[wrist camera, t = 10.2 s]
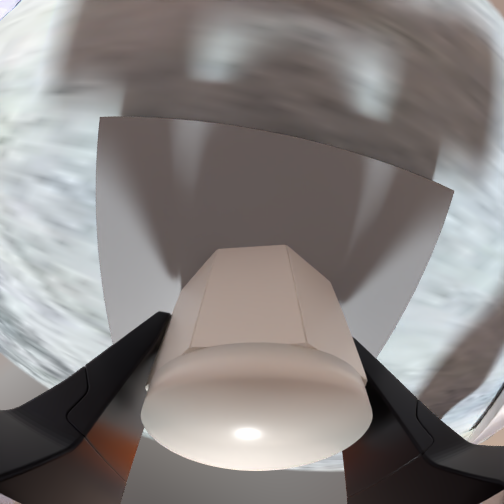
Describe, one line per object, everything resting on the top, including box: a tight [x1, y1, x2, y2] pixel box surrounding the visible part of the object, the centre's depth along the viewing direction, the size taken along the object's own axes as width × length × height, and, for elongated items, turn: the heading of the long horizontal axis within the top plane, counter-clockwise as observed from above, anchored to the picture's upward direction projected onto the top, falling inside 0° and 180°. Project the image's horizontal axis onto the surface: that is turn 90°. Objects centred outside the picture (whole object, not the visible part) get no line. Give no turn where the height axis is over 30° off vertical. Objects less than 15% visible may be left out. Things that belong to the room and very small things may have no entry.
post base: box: [96, 117, 454, 358], centre depth 9 cm, size 12×12×6 cm
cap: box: [141, 245, 373, 471], centre depth 7 cm, size 5×5×5 cm
